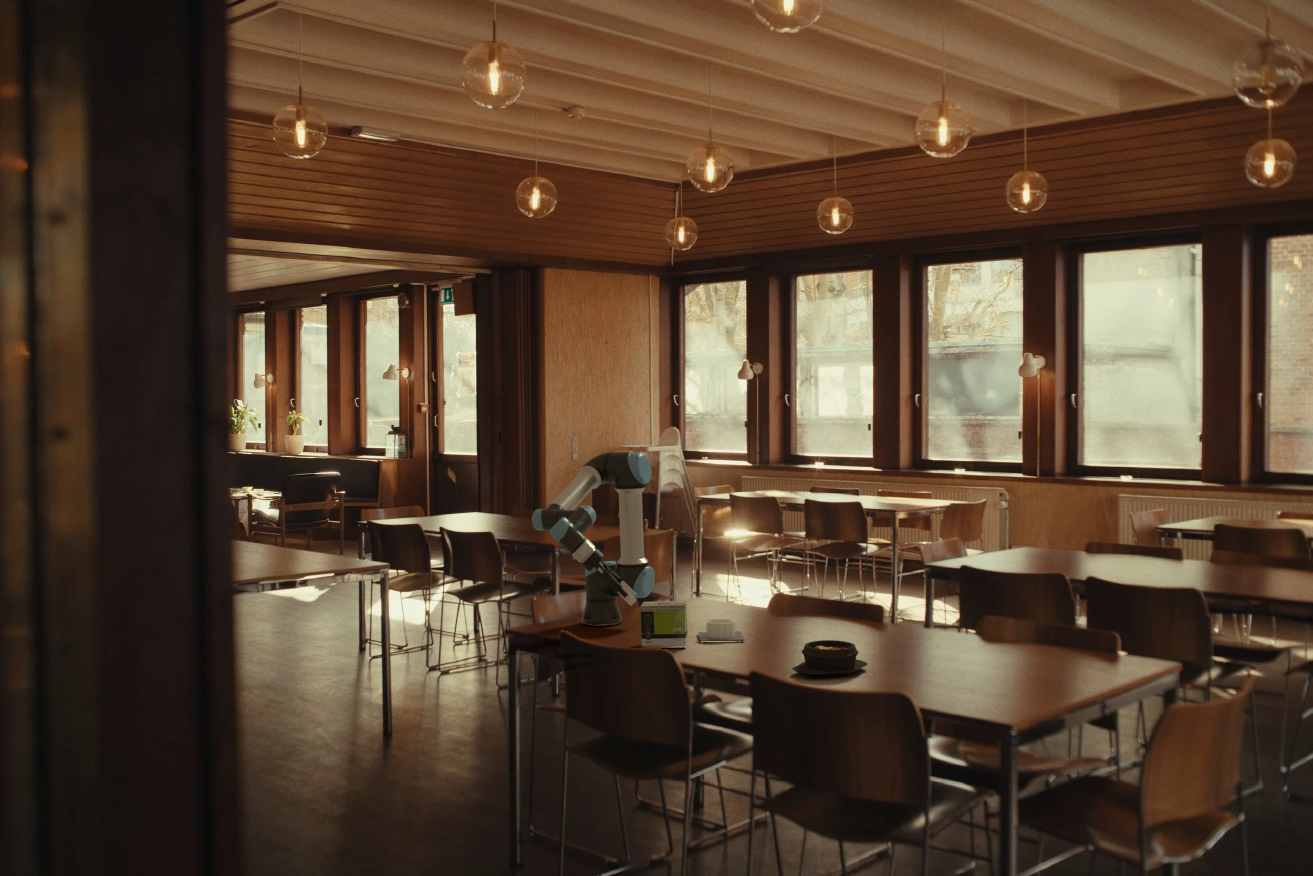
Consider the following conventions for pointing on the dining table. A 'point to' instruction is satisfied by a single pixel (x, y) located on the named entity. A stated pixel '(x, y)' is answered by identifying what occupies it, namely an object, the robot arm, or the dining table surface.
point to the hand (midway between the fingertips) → (633, 599)
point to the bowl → (720, 631)
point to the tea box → (664, 623)
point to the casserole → (829, 658)
